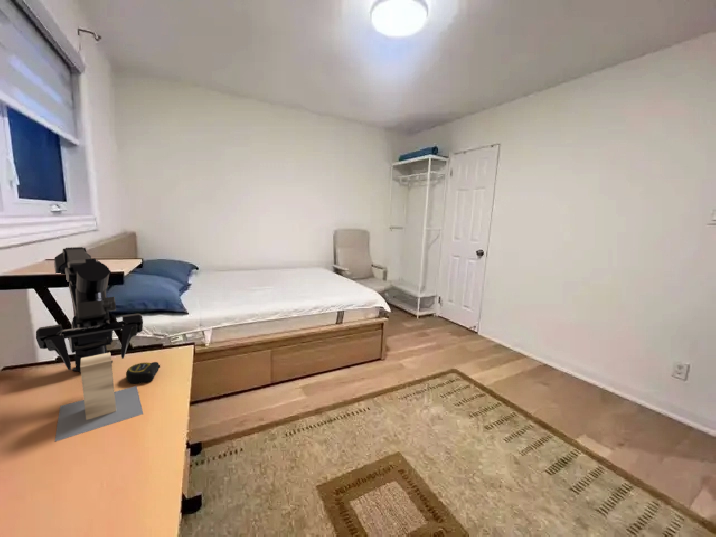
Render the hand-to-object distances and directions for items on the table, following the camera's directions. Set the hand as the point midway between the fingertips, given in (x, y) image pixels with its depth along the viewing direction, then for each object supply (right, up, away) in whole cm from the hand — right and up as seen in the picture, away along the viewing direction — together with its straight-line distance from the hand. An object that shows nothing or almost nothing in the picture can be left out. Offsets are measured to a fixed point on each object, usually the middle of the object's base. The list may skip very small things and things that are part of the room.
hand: (97, 363), depth 69 cm
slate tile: (+2, -11, -1) cm, 11 cm away
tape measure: (+2, -9, +14) cm, 16 cm away
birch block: (+2, -10, -1) cm, 10 cm away
